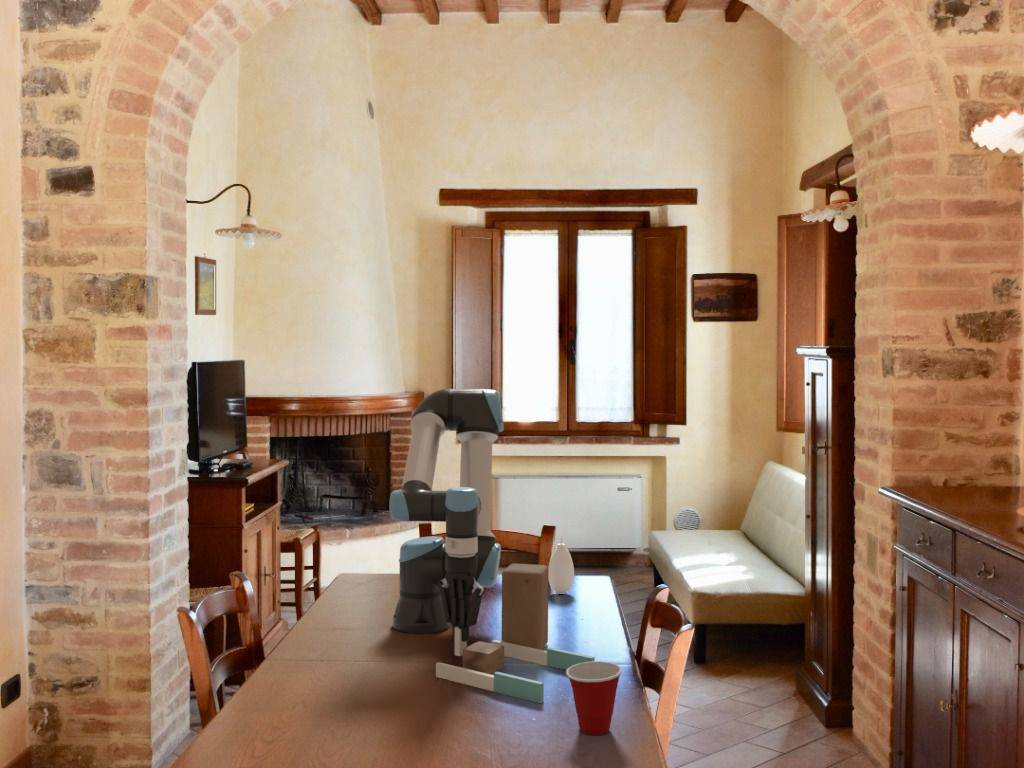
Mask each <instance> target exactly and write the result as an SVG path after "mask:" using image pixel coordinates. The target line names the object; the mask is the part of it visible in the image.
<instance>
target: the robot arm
mask: <svg viewBox="0 0 1024 768" xmlns="http://www.w3.org/2000/svg"><path fill="white" fill-rule="evenodd" d="M501 404H502V403H501V397H500V393H499V391H497V390H495V389H485V388H442V389H439V390H436V391H434V392H432V393H430V394H429V395H426V397H425V398H424V399H422V400H421V401H420V402H419V404H418V405H417V406H416V408H415V409H414V411H413V413H412V415H411V417H410V424H409V427H410V428H409V429H410V431H411V438H410V443H409V447H408V452H407V457H406V464H405V467H404V468H405V469H404V474H403V478H402V484H401V489H394V490H392V492H391V493H390V496H389V502H388V503H389V506H388V507H389V516H390V518H391V519H392V520H393V521H398V522H407V523H408V522H434V523H435V522H439V523H441V522H444V523H445V540H444V538H443V536H434V535H432V536H422V537H417V538H413V539H408V540H407V541H405V542H404V543H402V544H401V546H400V547H399V558H398V562H399V596H398V597H399V598H398V600H397V601H398V602H397V603H396V606H395V607H396V608H395V610H394V614H393V616H392V628H393V629H394V630H396V631H400V632H401V633H402V632H403V633H409V634H431V633H437V632H441V630H442V631H444V630H447V629H448V628H449V627H450V625H451V626H452V639H453V641H454V656H457V657H461V656H462V657H463V649H464V648H466V647H468V641H469V640H470V627H472V626H475V625H477V623H478V622H477V621H478V617H479V613H480V607H481V604H482V600H483V595H484V594H485V592H486V590H487V589H488V588H492V587H493V586H494V585H495V584H496V582H497V578H498V572H499V567H500V560H501V551H502V545H501V544H500V543H499V542H496V540H497V539H496V537H497V536H495V534H494V533H493V532H492V531H491V520H492V519H491V518H492V517H491V515H492V514H491V512H492V511H491V510H492V475H493V474H492V471H493V470H492V469H493V467H492V466H493V444H494V442H496V441H497V440H498V438H499V433H501V432H503V431H504V419H503V412H502V405H501ZM446 431H449V432H451V431H453V432H455V437H456V439H457V440H458V441H459V442H460V469H459V471H460V472H459V486H456V487H455V486H454V487H450V488H449V487H448V489H447V490H433V487H434V486H433V485H434V479H435V472H436V467H437V460H438V453H439V448H440V447H439V445H440V440H441V437H443V435H444V433H445V432H446ZM486 588H487V589H486Z"/></svg>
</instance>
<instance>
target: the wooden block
mask: <svg viewBox="0 0 1024 768" xmlns="http://www.w3.org/2000/svg"><path fill="white" fill-rule="evenodd" d="M548 568H549V566H547V565H545V564H533V563H532V564H531V563H515V562H514V563H510V564H509V565H508V566H507V567H506V568H505V569H504V570H503V571H502V573H501V633H500V634H501V639H500V641H502V642H507V643H512V644H516V645H521V646H526V647H530V648H535V649H539V650H544V648H545V647H546V646H547V643H548V642H549V579H548V573H549V569H548Z"/></svg>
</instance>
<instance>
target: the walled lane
mask: <svg viewBox="0 0 1024 768" xmlns="http://www.w3.org/2000/svg"><path fill="white" fill-rule="evenodd" d="M491 644H497V645H502V646H504V657H507V658H512V659H515V660H519V661H520V660H521V661H525V662H528V663H532V662H533V663H532V664H538V665H541V666H546V667H550V666H551V668H554V667H555V669H559V668H560V670H563V669H565V670H564V671H566V670H567V669H568V668H569V667H571V666H573V665H576V664H579V663H584V662H593V661H596V660H595V656H592V655H586V654H581V653H579V652H578V653H577V652H572V651H568V650H563V649H558V648H554V647H547V649H546V650H544V649H543V650H539V649H535V648H530V647H526V646H521V645H516V644H512V643H507V642H502V641H501V640H497V639H493V640H491ZM435 677H436V678H439V679H443V680H446V679H447V680H446V681H451V682H455V683H459V684H462V685H467V686H471V687H474V688H479V689H482V690H485V691H486V690H487V691H491V692H494V693H498V694H501V695H502V694H503V695H507V696H510V697H514V698H518V699H522V700H526V701H530V702H534V703H537V704H541V703H544V699H545V698H544V695H545V694H544V692H545V690H544V687H545V686H544V685H545V683H544V682H543V681H542V682H541V681H538V680H534V679H529V678H525V677H521V676H517V675H514V674H508V673H506V672H505V673H504V672H501V671H495V672H494V673H493V674H486V673H482V672H478V671H474V670H470V669H465V668H463V667H461V666H456V665H452V664H448V663H444V662H439V661H438V662H436V663H435Z"/></svg>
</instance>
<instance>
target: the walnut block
mask: <svg viewBox="0 0 1024 768" xmlns="http://www.w3.org/2000/svg"><path fill="white" fill-rule="evenodd" d="M503 666H504V667H505V656H504V646H502V645H497V644H492V642H491V643H489V642H485V641H477V642H474V643H472V644H470V645H469V646H468V645H467V647H466V648H464V649H463V655H462V668H465V669H470V670H474V671H478V672H482V673H486V674H490V675H492V674H494V673H495V672H497V671H499V670H500V668H501V669H502V668H504V667H503ZM498 669H499V670H498ZM496 670H497V671H496ZM493 672H494V673H493ZM491 673H492V674H491Z"/></svg>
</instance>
